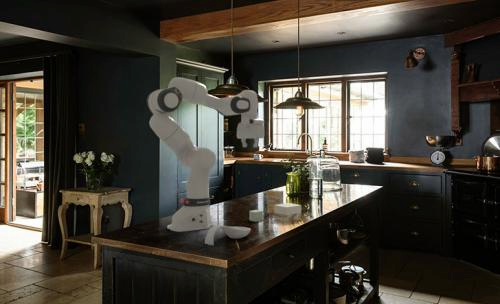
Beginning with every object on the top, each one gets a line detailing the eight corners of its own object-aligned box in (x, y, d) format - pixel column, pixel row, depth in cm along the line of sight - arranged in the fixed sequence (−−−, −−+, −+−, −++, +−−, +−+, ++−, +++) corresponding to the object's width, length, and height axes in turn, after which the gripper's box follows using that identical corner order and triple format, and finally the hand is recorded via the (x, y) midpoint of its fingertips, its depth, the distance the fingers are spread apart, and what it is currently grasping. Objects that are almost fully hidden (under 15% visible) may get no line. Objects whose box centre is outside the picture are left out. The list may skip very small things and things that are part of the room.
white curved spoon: (236, 232, 192) (235, 217, 191) (256, 236, 184) (255, 220, 184) (198, 243, 173) (198, 226, 173) (219, 248, 166) (219, 230, 166)
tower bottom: (286, 222, 212) (286, 215, 212) (274, 219, 220) (274, 212, 220) (301, 220, 218) (300, 212, 218) (288, 217, 226) (288, 210, 226)
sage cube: (255, 221, 215) (255, 212, 215) (249, 220, 219) (249, 210, 219) (262, 220, 218) (262, 211, 217) (257, 219, 222) (256, 209, 222)
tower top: (286, 215, 212) (286, 207, 212) (274, 212, 220) (274, 204, 220) (301, 212, 218) (301, 205, 218) (288, 210, 226) (288, 202, 226)
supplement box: (267, 213, 236) (266, 190, 236) (270, 212, 241) (270, 189, 240) (280, 214, 232) (280, 191, 232) (283, 213, 237) (283, 190, 236)
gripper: (233, 121, 227) (234, 147, 227) (256, 120, 211) (257, 147, 211) (243, 121, 231) (243, 146, 231) (266, 120, 214) (266, 147, 215)
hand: (250, 147), depth 221 cm, fingers open, 8 cm apart
